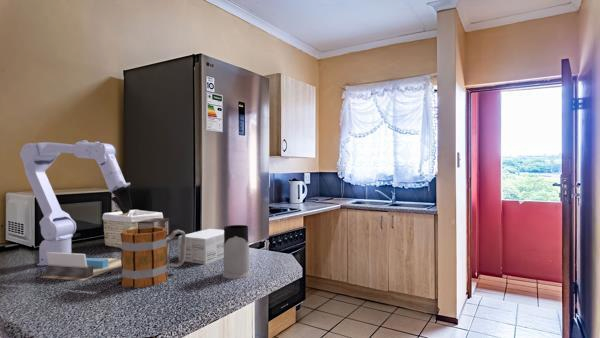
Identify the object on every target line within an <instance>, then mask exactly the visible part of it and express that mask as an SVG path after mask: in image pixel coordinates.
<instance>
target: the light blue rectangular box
mask: <svg viewBox="0 0 600 338" xmlns="http://www.w3.org/2000/svg"><path fill="white" fill-rule="evenodd" d="M86 261H87V266H93V268H100V269H103V268H106V267H108V259H98V258H92V257H91V258H90V257H86Z"/></svg>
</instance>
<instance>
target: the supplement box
mask: <svg viewBox="0 0 600 338" xmlns="http://www.w3.org/2000/svg"><path fill="white" fill-rule="evenodd" d="M185 235H186V253H185V260H184V262H186V263H193V264H201V265H207V264H210V263H212V262H215V261H218V260H221V259H224V229H217V228H216V229H215V228H207V229H202V230H198V231H194V232H191V233H185ZM177 239H178V241H177V242H178V262H179V261H180V258H181V243H182V235H178V237H177Z"/></svg>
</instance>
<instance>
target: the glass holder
mask: <svg viewBox="0 0 600 338" xmlns="http://www.w3.org/2000/svg"><path fill="white" fill-rule="evenodd" d="M223 230H224V258H223V272H222V277H223V278H226V279H229V280H231V279H233V280H235V279H244V278H247V277H249V276H251V274H252V273H251V271H250V245H249V244H250V243H249V242H250V241H249V226H248V225H244V224H235V225H234V224H233V225H232V224H231V225H225V226H224V227H223Z"/></svg>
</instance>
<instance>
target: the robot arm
mask: <svg viewBox="0 0 600 338" xmlns="http://www.w3.org/2000/svg"><path fill="white" fill-rule="evenodd" d="M61 153H62V154H73V155H74V156H75V157H77V158H79V159H89V160H90V159H92V160H95V161H96V164H98V167H99V169H100V171H101V173H102V176H103V178H104V181H105V184H106V187H107V188H108V193H111V194H112V195H114V196H112V197H110V200H111V201H112V202H114V203H115V204H116V206H117V207H118V208H119V210H120V211H122V213H123V214H125V213H127V212H130V210H131V209H132V207H133V205H132V201H131V200H132V199H131V193H130V192H131V182H126V180H125V178H124V175H123V173H122V172H123V171H122V169H121V168H120V166H119V163H118V160H117V158H116V155H117V149H116V147H115V145H113V144H110V143H101V142H100V141H94V142H90V141H89V142H88V140H86V139H85V140H84V139H82V140H80V141H77V142H76V143H74V144H69V143H61V142H48V141H47V142H35V143H32V142H27V143H26V144H24V145H23V146H22V147H21V150H20V153H19V156H20V159H21V160H22V161H21V162H22V163H23V167H24V174H25V176H26V178H27V181H28V183H29V184H30V187H31V189H32V191H33V194H34V197H35V199H36V201H37V203H38V206H39V208H40V210H41V213H42V215H43V217H42V218H41V219H40V220H39V226H40V234H41V236H42V238H43V239H44V240H43V239H42V241H41V243H39V250H38V251H39V263H37V264H36V265H37V266H49V265H48V259H47V254H46V253H47V252H57V253H72V238H73V237H74V234H75V233H76V231H77V223H76V221H75V220H74V219H72V217H71V216H70V213H68V212H66V211H64V210H62V208H61V205H60V203H59V201H58V199H57V196H56V194H55V191H54V189H53V187H52V185H51V183H50V180H49V178H48V176H47V173H46V170H48V169H49V168H50V167H51V165H52V164H53V163H54V162H55V161H56V159H57V157H58V156H60V155H61Z"/></svg>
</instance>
